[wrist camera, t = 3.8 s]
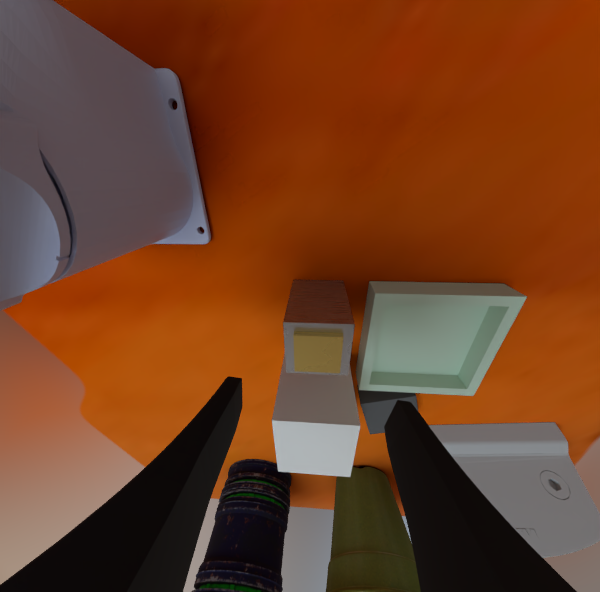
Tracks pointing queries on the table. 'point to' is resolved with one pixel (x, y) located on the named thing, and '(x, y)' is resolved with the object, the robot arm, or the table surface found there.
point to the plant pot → (369, 538)
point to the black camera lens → (248, 531)
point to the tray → (433, 335)
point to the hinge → (527, 481)
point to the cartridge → (318, 328)
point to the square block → (381, 406)
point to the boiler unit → (315, 423)
